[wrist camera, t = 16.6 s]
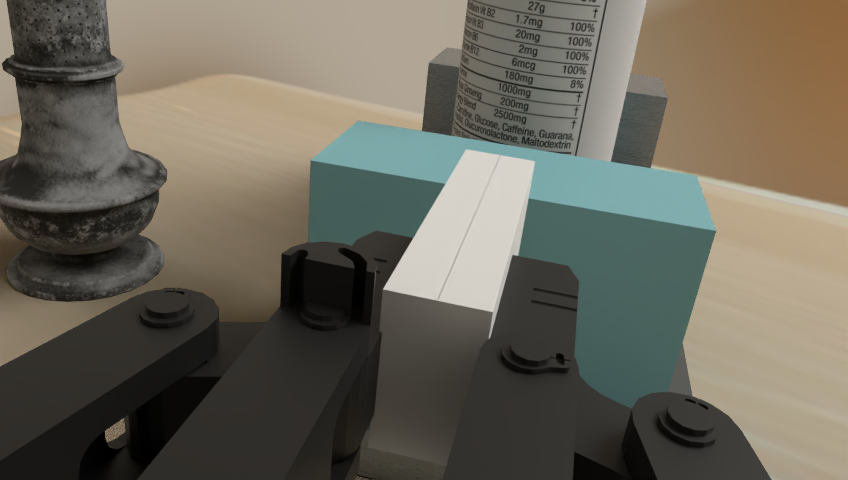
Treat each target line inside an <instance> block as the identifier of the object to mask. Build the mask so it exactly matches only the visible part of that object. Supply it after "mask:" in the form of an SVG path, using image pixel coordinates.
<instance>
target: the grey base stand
mask: <svg viewBox="0 0 848 480" xmlns="http://www.w3.org/2000/svg"><path fill="white" fill-rule="evenodd" d="M461 53H462V50H461V49H454V48H446V49H445V50H443V51H442V52H441V53H440V54H439V55H438V56H436V57H435V58H434V59H433V60H432V61H430V62H429V67H428V77H427V87H426V97H425V107H424V117H423V127H422V131H425V132H431V133H437V134H443V135H449V136H452V128H453V120H454V111H455V103H456V95H457V86H458V78H459V69H460V61H461ZM667 99H668V97H667V94H666V91H665V88H664V86H663V83H662V80H661V78H657V77H650V76H643V75H636V74H630V77H629V81H628V86H627V91H626V95H625V100H624V104H623V109H622V113H621V118H620V122H619V127H618V131H617V136H616V140H615V145H614V149H613V154H612V158H611V162H615V163H621V164H627V165H634V166H640V167H646V168H651V164H652V160H653V156H654V152H655V147H656V144H657V140H658V136H659V132H660V128H661V123H662V120H663V115H664V111H665V107H666V103H667ZM668 392H673V393H679V394H684V395H689V396H692V392H691V386H690V381H689V376H688V370H687V365H686V359H685V354H684V348H683V343H682V346H681V349H680V352H679V356H678V359H677V362H676V366H675V369H674V372H673V376H672V379H671V382H670V386H669V389H668ZM370 423H371V422H370ZM369 433H370V424H369V427H368V429H367V431H366V433H365V435H364V437H363V440H362V442H361V450H360V461H359V467H358V472H357V475H360V476H364V477H368V478H372V479H376V480H442V479H443V475H444V472H445V468H446V466H443V465H439V464H435V463H431V462H427V461H423V460H419V459H415V458H410V457H406V456H402V455H398V454H394V453H390V452H386V451H382V450H378V449H374V448H369V447H368V444H369Z"/></svg>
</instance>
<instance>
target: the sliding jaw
mask: <svg viewBox="0 0 848 480" xmlns="http://www.w3.org/2000/svg"><path fill="white" fill-rule="evenodd" d="M466 149H467V150H473V151H479V152H485V153H491V154H496V155H502V156H508V157H514V158H520V159H525V160H531V161H535V166H534V171H533V177H532V182H531V188H530V193H529V199H528V204H527V210H526V215H525V221H524V226H523V232H522V237H521V243H520V248H519V254H518V256H521V257H526V258H531V259H536V260H541V261H547V262H552V263H557V264H562V265H567V266H569V267H570V269H571V270H572V272H573V273H574V275H575V276H576V277H577V279H578V280H579V292H578V308H577V323H576V338H575V353H574V357H575V358H576V361H577V364H578V368H579V375H580V376H581V377H582V378H583V380H584V381H585V382H586V383H587V384H588V385H589V386H591V387H592V388H593V389H595V390H596V391H597V392H599V393H600V394H602V395H604V396H606V397H608V398H610V399H612V400H614V401H616V402H618V403H620V404H623V405H625V406H627V407H629V408H633V406H634V405H635V403H636V401H637V400H638V398H641V397H643V396H645V395H648V394H650V393H656V392H668V389H669V386H670V382H671V379H672V376H673V372H674V369H675V366H676V362H677V359H678V356H679V352H680V349H681V346H682V342H683V339H684V336H685V332H686V329H687V326H688V322H689V319H690V316H691V312H692V309H693V306H694V302H695V299H696V296H697V292H698V289H699V286H700V283H701V279H702V276H703V273H704V269H705V266H706V263H707V259H708V256H709V253H710V249H711V246H712V243H713V239H714V236H715V233H716V229H715V227H714V224H713V221H712V218H711V215H710V213H709V210H708V207H707V204H706V201H705V198H704V196H703V193H702V190H701V187H700V184H699V182H698V179H697V176H695V175H689V174H683V173H677V172H670V171H664V170H658V169H652V168H646V167H640V166H634V165H627V164H621V163H615V162H609V161H603V160H597V159H591V158H584V157H578V156H572V155H566V154H560V153H554V152H548V151H541V150H535V149H529V148H523V147H517V146H511V145H504V144H498V143H492V142H486V141H480V140H474V139H468V138H461V137H455V136H449V135H443V134H437V133H431V132H425V131H418V130H412V129H406V128H400V127H394V126H388V125H382V124H375V123H369V122H363V121H357V122H356V123H355V124H354V125H352V126H351V127H350V128H349V129H348V130H346V131H345V132H344V133H343V134H342V135H340V136H339V137H338V138H337V139H336V140H335V141H333V142H332V143H331V144H330V145H329V146H327V147H326V148H325V149H324V150H323V151H321V152H320V153H319V154H318V155H317V156H315V157H314V158H313V159H312V160H311V167H310V199H309V230H308V243H310V242H325V241H326V242H335V243H344V244H347V245H351V246H352V245H353V244H354V242H355V241H356V240H357V239H359V238H361V237H363V236H365V235H368V234H370V233H372V232H374V231H381V232H386V233H392V234H397V235H402V236H407V237H412V238H414V236H415V235H416V233H417V231H418V229H419V228H420V226H421V224H422V223H423V221H424V219H425V218H426V216H427V214H428V213H429V211H430V209H431V208H432V206H433V204H434V203H435V201H436V199H437V197H438V196H439V194H440V192H441V191H442V189H443V187H444V186H445V184H446V182H447V181H448V179H449V177H450V176H451V174H452V172H453V171H454V169H455V167H456V165H457V164H458V162H459V160H460V159H461V157H462V155H463V154H464V152H465V150H466Z"/></svg>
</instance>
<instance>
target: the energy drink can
mask: <svg viewBox="0 0 848 480" xmlns="http://www.w3.org/2000/svg"><path fill="white" fill-rule="evenodd" d="M645 5H646V0H468V3H467V12H466V20H465V28H464V36H463V44H462V53H461V61H460V69H459V78H458V86H457V95H456V103H455V111H454V120H453V128H452V136H455V137H461V138H468V139H474V140H480V141H486V142H492V143H498V144H504V145H511V146H517V147H523V148H529V149H535V150H541V151H548V152H554V153H560V154H566V155H572V156H578V157H584V158H591V159H597V160H603V161H609V162H611V158H612V154H613V149H614V145H615V140H616V136H617V131H618V127H619V122H620V118H621V113H622V109H623V104H624V100H625V95H626V91H627V86H628V81H629V77H630V72H631V68H632V63H633V59H634V54H635V50H636V45H637V41H638V36H639V32H640V27H641V23H642V18H643V14H644V9H645Z"/></svg>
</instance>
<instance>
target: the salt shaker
mask: <svg viewBox="0 0 848 480" xmlns="http://www.w3.org/2000/svg"><path fill="white" fill-rule="evenodd" d="M7 6H8V13H9V19H10V27H11V34H12V41H13V47H14V55H12V56H11V57H10V58H7V59H6V60H5V61H4V62H3V63H2V66H3V70H4V71H6V72H7V73H9V74H11V75H12V76H14V77H15V80H16V87H17V93H18V100H19V107H20V114H21V120H22V128H21V137H20V143H19V149H18V153H17V154H16V155H14V156H12V157H9V158H7V159H4V160H2V161H0V218H1V219H2V221H3V222H4V223H5V225H6V226H7V228H8V229H9V231H10V232H11V233H12V234H14V235H15V236H16V237H17V238H18V239H20V240H22V241H24V242H25V243H27V244H29V246H27V247H25V248H24V249H22V250H20V251H19V252H18V253H17V254H16V255H15V256H14V257H13V258H12V259H11V260H10V261H9V263H8V266H7V268H6V273H7V278H8V282H9V283H10V284H11V285H12V286H13V287H14V288H15V289H16V290H18V291H20V292H22V293H24V294H26V295H28V296H32V297H37V298H41V299H45V300H56V301H83V300H94V299H99V298H105V297H111V296H114V295H118V294H121V293H124V292H127V291H131V290H133V289H135V288H137V287H139V286H141V285H143V284H145V283H147V282H148V281H150V280H151V279H152V278H153V277H155V276H156V275H157V274H158V273H159V271H160V270H161V268H162V267H163V263H164V254H163V252H162V250H161V248H160V247H159V246H158V245H157V244H155V243H154V242H153V241H151V240H150V239H148V238H146V237H143V236H141V235H138V234H139V233H140V232H141V231H142V230H144V229H145V228H146V226H147V225H148V224H149V223H150V221H151V220H152V218H153V215H154V212H155V210H156V207H157V205H158V202H159V189H160V187H161V186H162V185H163V184H164V183H165V182H166V180H167V169H166V168H165V167H164V165H163V164H162V163H161V162H160V161H159V160H157V159H156V158H154V157H152V156H151V155H148V154H145V153H142V152H139V151H136V150H131V149H130V148H129V147H128V144H127V142H126V139H125V137H124V134H123V131H122V128H121V125H120V122H119V115H118V104H117V92H116V81H115V76H116V75H117V74H118V73H120V72H121V71H122V70H123V68H124V63H123V62H122V61H121V60H120V59H118V58H116V57H115V56H113V55H111V53H110V43H109V30H108V19H107V9H106V0H7Z"/></svg>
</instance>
